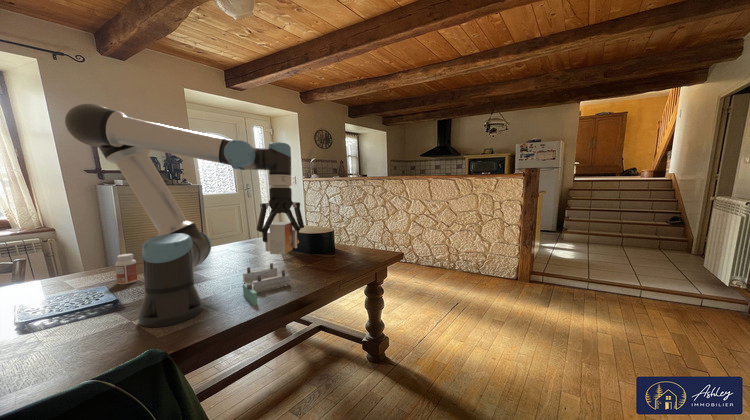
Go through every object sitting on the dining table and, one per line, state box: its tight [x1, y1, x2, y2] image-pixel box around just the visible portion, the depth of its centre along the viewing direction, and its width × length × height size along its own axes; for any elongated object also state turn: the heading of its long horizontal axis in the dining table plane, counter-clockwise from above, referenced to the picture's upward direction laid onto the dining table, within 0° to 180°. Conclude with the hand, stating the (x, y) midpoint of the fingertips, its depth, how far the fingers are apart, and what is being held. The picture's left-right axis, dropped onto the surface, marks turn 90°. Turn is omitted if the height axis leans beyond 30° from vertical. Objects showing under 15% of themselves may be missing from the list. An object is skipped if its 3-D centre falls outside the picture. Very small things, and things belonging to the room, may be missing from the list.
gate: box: [242, 283, 258, 306], centre depth 94 cm, size 2×11×5 cm, turn 40°
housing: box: [242, 262, 291, 294], centre depth 109 cm, size 13×15×6 cm
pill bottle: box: [115, 253, 138, 286], centre depth 111 cm, size 6×6×11 cm
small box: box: [269, 221, 294, 255], centre depth 102 cm, size 8×6×10 cm
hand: (281, 249), depth 102 cm, fingers closed on small box, 9 cm apart
